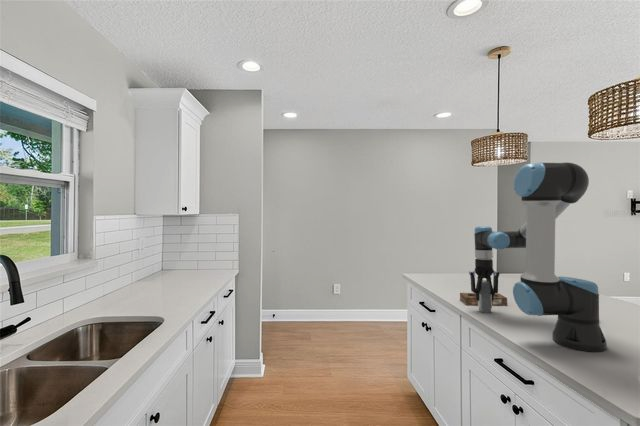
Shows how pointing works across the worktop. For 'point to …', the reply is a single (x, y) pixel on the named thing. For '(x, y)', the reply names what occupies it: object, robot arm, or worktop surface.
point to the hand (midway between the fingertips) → (484, 307)
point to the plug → (485, 297)
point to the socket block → (471, 300)
